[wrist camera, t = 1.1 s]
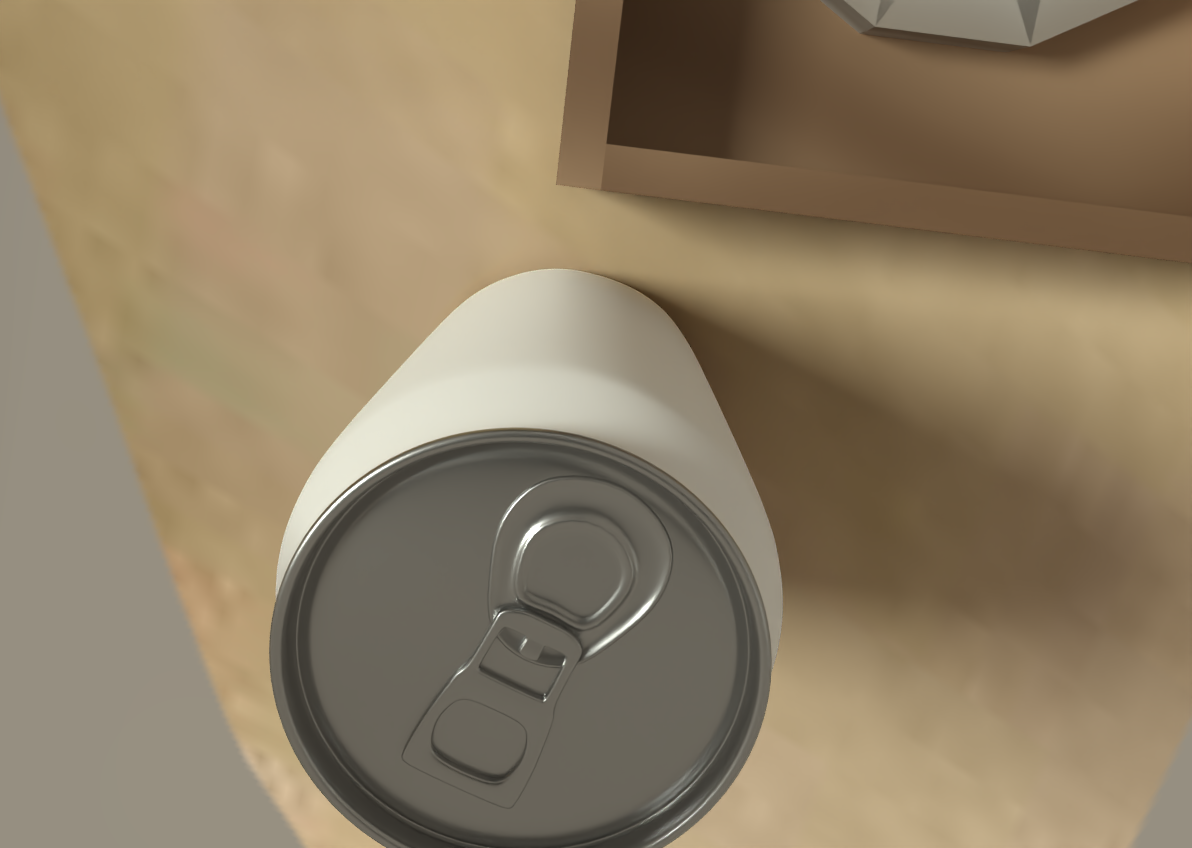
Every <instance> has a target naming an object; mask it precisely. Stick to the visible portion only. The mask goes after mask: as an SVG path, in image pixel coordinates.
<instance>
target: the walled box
mask: <svg viewBox="0 0 1192 848" xmlns="http://www.w3.org/2000/svg"><path fill="white" fill-rule="evenodd" d="M556 185H563V186H571V187H579V188H587V189H595V190H604V191H612V192H620V193H628V194H636V195H644V196H652V197H660V198H668V199H677V200H685V201H693V202H701V203H709V204H717V205H725V206H733V207H741V208H750V209H758V210H766V211H774V212H782V213H790V214H798V215H806V216H814V217H822V218H831V219H839V220H847V221H855V222H863V223H871V224H879V225H887V226H895V227H904V228H912V229H920V230H928V231H936V232H944V233H952V234H960V235H968V236H976V237H985V238H993V239H1001V240H1009V241H1017V242H1025V243H1033V244H1041V245H1049V246H1058V247H1066V248H1074V249H1082V250H1090V251H1098V252H1106V253H1114V254H1122V255H1130V256H1139V257H1147V258H1155V259H1163V260H1171V261H1179V262H1187V263H1192V0H576V4H575V13H574V23H573V32H572V41H571V51H570V60H569V69H568V78H567V88H566V97H565V106H564V116H563V125H562V134H561V143H560V153H559V162H558V171H557V181H556Z"/></svg>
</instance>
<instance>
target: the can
mask: <svg viewBox="0 0 1192 848" xmlns="http://www.w3.org/2000/svg"><path fill="white" fill-rule="evenodd" d="M782 615H783V590H782V578H781V571H780V564H779V558H778V553H777V548H776V543H775V539H774V535H773V532H772V529H771V526H770V523H769V520H768V517H767V514H766V512H765V509H764V506H763V503H762V501H761V498H760V496H759V493H758V491H757V489H756V486H755V484H754V482H753V480H752V477H751V475H750V473H749V470H748V468H747V466H746V463H745V461H744V459H743V457H742V454H741V452H740V450H739V448H738V446H737V443H736V441H735V439H734V437H733V435H732V432H731V430H730V428H729V426H728V424H727V422H726V419H725V417H724V415H723V413H722V411H721V409H720V406H719V404H718V402H717V400H716V398H715V396H714V394H713V391H712V389H711V387H710V385H709V383H708V381H707V379H706V377H705V375H704V373H703V371H702V368H701V366H700V364H699V362H698V360H697V358H696V356H695V355H694V353H693V351H692V349H691V347H690V345H689V344H688V342H687V341H686V339H685V337H684V336H683V334H682V333H681V331H680V330H679V328H678V327H677V326H676V324H675V323H674V322H673V320H672V319H671V318H670V317H669V316H668V314H667V313H666V312H665V311H664V310H663V309H662V308H661V307H660V306H658V305H657V304H656V303H655V302H653V301H652V300H651V299H649V298H648V297H646V296H645V295H643V294H642V293H640V292H638V291H637V290H635V289H633V288H631V287H629V286H627V285H625V284H622V283H620V282H617V281H615V280H612V279H609V278H606V277H603V276H600V275H596V274H592V273H588V272H583V271H578V270H570V269H542V270H535V271H529V272H525V273H520V274H517V275H513V276H510V277H508V278H505V279H502V280H500V281H497V282H495V283H493V284H491V285H489V286H487V287H485V288H484V289H482V290H480V291H478V292H477V293H475V294H474V295H472V296H471V297H470V298H468V299H467V300H466V301H464V302H463V303H462V304H461V305H460V306H458V307H457V308H456V309H455V310H454V311H453V312H452V313H451V314H450V315H449V316H448V317H447V318H446V319H445V320H444V321H443V322H442V323H441V324H440V325H439V326H438V327H437V328H436V329H435V330H434V331H433V332H432V333H431V334H430V335H429V336H428V337H427V338H426V340H425V341H424V342H423V343H422V344H421V345H420V346H419V347H418V348H417V349H416V350H415V351H414V352H413V354H412V355H411V356H410V357H409V358H408V359H407V360H406V361H405V362H404V363H403V364H402V366H401V367H400V368H399V369H398V370H397V371H396V372H395V373H394V374H393V375H392V377H391V378H390V379H389V380H388V381H387V382H386V383H385V384H384V385H383V386H382V387H381V389H380V390H379V391H378V392H377V393H376V394H375V395H374V396H373V398H372V399H371V400H370V401H369V402H368V403H367V404H366V405H365V406H364V408H363V409H362V410H361V411H360V412H359V413H358V414H357V415H356V417H355V418H354V419H353V420H352V421H351V422H350V423H349V425H348V426H347V427H346V428H345V429H344V430H343V432H342V433H341V434H340V435H339V436H338V438H337V439H336V440H335V441H334V443H333V444H332V445H331V447H330V448H329V449H328V451H327V452H326V453H325V455H324V456H323V457H322V459H321V460H320V461H319V463H318V464H317V466H316V467H315V469H314V470H313V472H312V474H311V475H310V477H309V479H308V481H307V482H306V484H305V486H304V488H303V490H302V492H301V494H300V496H299V498H298V500H297V502H296V505H295V507H294V509H293V511H292V514H291V516H290V519H289V522H288V525H287V528H286V531H285V534H284V538H283V541H282V545H281V550H280V555H279V561H278V567H277V578H276V602H275V607H274V611H273V617H272V623H271V632H270V647H269V657H270V673H271V682H272V688H273V694H274V698H275V702H276V706H277V710H278V713H279V717H280V719H281V722H282V725H283V728H284V730H285V733H286V735H287V738H288V740H289V742H290V744H291V746H292V748H293V750H294V752H295V754H296V756H297V758H298V760H299V761H300V763H301V765H302V766H303V768H304V769H305V771H306V772H307V774H308V775H309V777H310V778H311V780H312V781H313V782H314V784H315V785H316V786H317V788H318V789H319V790H320V791H321V793H322V794H323V795H324V796H325V797H326V798H327V799H328V801H329V802H330V803H331V804H332V805H333V806H334V807H335V808H336V809H337V810H338V811H339V812H340V813H341V814H342V815H343V816H344V817H345V818H347V819H348V820H349V821H350V822H351V823H352V824H354V825H355V826H356V827H357V828H359V829H360V830H361V831H362V832H364V833H365V834H366V835H368V836H369V837H371V838H372V839H374V840H375V841H377V842H378V843H380V844H381V845H383V846H385V847H386V848H663V847H665V846H666V845H668V844H669V843H671V842H672V841H674V840H675V839H677V838H678V837H680V836H681V835H682V834H684V833H685V832H686V831H688V830H689V829H690V828H691V827H692V826H694V825H695V824H696V823H697V822H698V821H699V820H700V819H702V818H703V817H704V816H705V815H706V814H707V813H708V812H709V811H710V810H711V809H712V808H713V806H714V805H715V804H716V803H717V802H718V801H719V800H720V799H721V797H722V796H723V795H724V794H725V793H726V791H727V790H728V789H729V787H730V786H731V785H732V783H733V782H734V780H735V779H736V777H737V776H738V774H739V773H740V771H741V769H742V768H743V766H744V764H745V762H746V760H747V759H748V757H749V755H750V753H751V751H752V748H753V746H754V744H755V742H756V739H757V737H758V734H759V731H760V728H761V725H762V722H763V719H764V715H765V711H766V707H767V702H768V697H769V691H770V683H771V672H772V669H773V666H774V662H775V659H776V655H777V651H778V646H779V641H780V635H781V627H782Z"/></svg>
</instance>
